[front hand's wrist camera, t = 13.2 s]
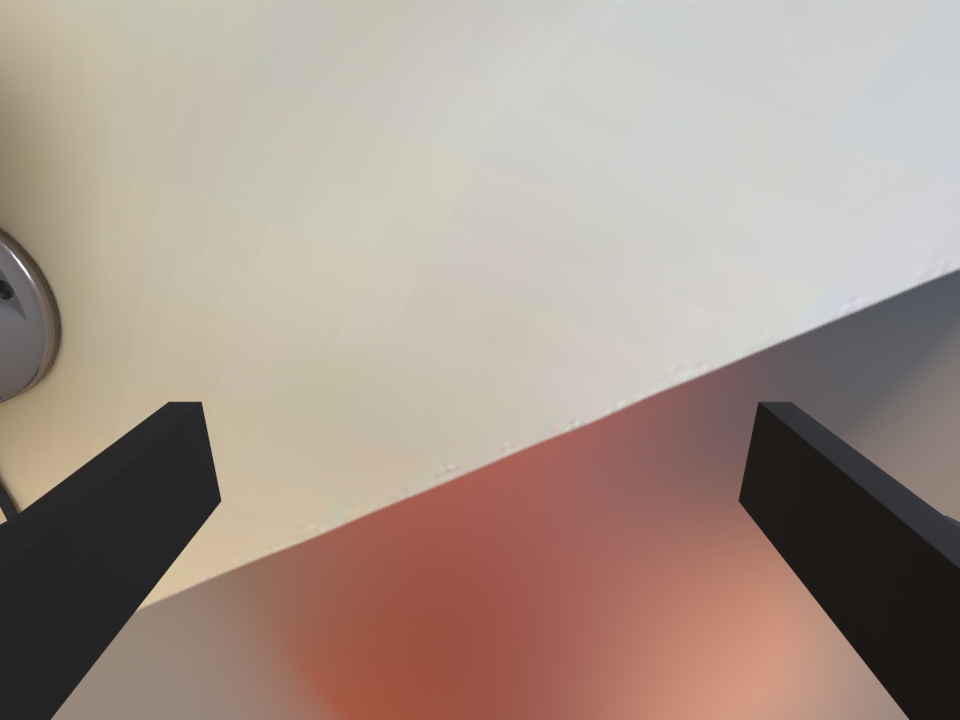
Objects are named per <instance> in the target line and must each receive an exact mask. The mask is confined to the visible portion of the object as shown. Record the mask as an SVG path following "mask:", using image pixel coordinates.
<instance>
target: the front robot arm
mask: <svg viewBox="0 0 960 720" xmlns="http://www.w3.org/2000/svg"><path fill="white" fill-rule="evenodd" d="M59 337H60V328H59V318H58V313H57V308H56V305H55V302H54V299H53V296H52V294H51V291H50V289H49V287H48V285H47V283H46V281H45V279H44V277H43V276H42V274H41V272H40V271H39V269H38V268H37V266H36V265H35V264H34V262H33V261H32V260H31V258H30V257H29V256H28V255H27V254H26V252H25V251H24V250H23V249H22V248H21V247H20V246H19V245H18V244H17V243H16V242H15V241H14V240H13V239H12V238H11V237H9V236H8V235H7V234H6V233H5V232H3V231H2V230H1V229H0V403H2V402H4V401H6V400H9V399H11V398H13V397H15V396H17V395H19V394H21V393H23V392H25V391H27V390H29V389H30V388H32V387H33V386H34V385H36V384H37V383H38V382H39V381H40V380H41V379H42V378H43V377H44V376H45V375H46V373H47V372H48V371H49V369H50V368H51V366H52V364H53V362H54V359H55V357H56V354H57V350H58V346H59ZM220 502H221V497H220V492H219V487H218V482H217V477H216V472H215V467H214V462H213V457H212V452H211V447H210V442H209V437H208V432H207V427H206V422H205V417H204V412H203V407H202V402H168V403H167V404H165V405H164V406H163V407H161V408H160V409H159V410H157V411H156V412H155V413H153V414H152V415H151V416H149V417H148V418H147V419H145V420H144V421H143V422H141V423H140V424H139V425H137V426H136V427H135V428H133V429H132V430H131V431H129V432H128V433H127V434H125V435H124V436H123V437H121V438H120V439H119V440H117V441H116V442H115V443H113V444H112V445H111V446H109V447H108V448H106V449H105V450H104V451H102V452H101V453H100V454H98V455H97V456H96V457H94V458H93V459H92V460H90V461H89V462H88V463H86V464H85V465H84V466H82V467H81V468H80V469H78V470H77V471H76V472H74V473H73V474H72V475H70V476H69V477H68V478H66V479H65V480H64V481H62V482H61V483H60V484H58V485H57V486H56V487H54V488H53V489H52V490H50V491H49V492H48V493H46V494H45V495H43V496H42V497H41V498H39V499H38V500H37V501H35V502H34V503H33V504H31V505H30V506H29V507H27V508H26V509H25V510H23V511H22V512H21V513H19V514H18V513H17V511H16V509H15V507H14V505H13V503H12V501H11V500H10V498H9V496H8V495H7V493H6V491H5V490H4V488H3V486H2V485H1V483H0V507H1V509H2V511H3V513H4V515H5V517H6V519H7V521H6V522H4V523H2V524H0V720H51V718H52V717H53V716H54V715H55V713H56V712H57V711H58V709H59V708H60V707H61V706H62V704H63V703H64V702H65V701H66V699H67V698H68V697H69V695H70V694H71V693H72V692H73V690H74V689H75V688H76V686H77V685H78V684H79V683H80V681H81V680H82V679H83V677H84V676H85V675H86V674H87V672H88V671H89V670H90V669H91V667H92V666H93V665H94V663H95V662H96V661H97V660H98V658H99V657H100V656H101V654H102V653H103V652H104V651H105V649H106V648H107V647H108V645H109V644H110V643H111V642H112V640H113V639H114V638H115V637H116V635H117V634H118V633H119V631H120V630H121V629H122V628H123V626H124V625H125V624H126V622H127V621H128V620H129V619H130V617H131V616H132V615H133V613H134V612H135V611H136V610H137V608H138V607H139V606H140V604H141V603H142V602H143V601H144V599H145V598H146V597H147V596H148V594H149V593H150V592H151V590H152V589H153V588H154V587H155V585H156V584H157V583H158V581H159V580H160V579H161V578H162V576H163V575H164V574H165V572H166V571H167V570H168V569H169V567H170V566H171V565H172V564H173V562H174V561H175V560H176V558H177V557H178V556H179V555H180V553H181V552H182V551H183V549H184V548H185V547H186V546H187V544H188V543H189V542H190V540H191V539H192V538H193V537H194V535H195V534H196V533H197V532H198V530H199V529H200V528H201V526H202V525H203V524H204V523H205V521H206V520H207V519H208V517H209V516H210V515H211V514H212V512H213V511H214V510H215V508H216V507H217V506H218V505H219V503H220ZM739 502H740V503H741V505H742V506H743V507H744V508H745V510H746V511H747V512H748V514H749V515H750V516H751V517H752V519H753V520H754V521H755V523H756V524H757V525H758V526H759V528H760V529H761V530H762V532H763V533H764V534H765V535H766V537H767V538H768V539H769V540H770V542H771V543H772V544H773V545H774V547H775V548H776V549H777V551H778V552H779V553H780V555H781V556H782V557H783V558H784V560H785V561H786V562H787V564H788V565H789V566H790V567H791V569H792V570H793V571H794V572H795V574H796V575H797V576H798V578H799V579H800V580H801V581H802V583H803V584H804V585H805V586H806V588H807V589H808V590H809V592H810V593H811V594H812V596H813V597H814V598H815V599H816V601H817V602H818V603H819V604H820V606H821V607H822V608H823V610H824V611H825V612H826V613H827V615H828V616H829V617H830V619H831V620H832V621H833V622H834V624H835V625H836V626H837V627H838V629H839V630H840V631H841V633H842V634H843V635H844V637H845V638H846V639H847V640H848V642H849V643H850V644H851V645H852V647H853V648H854V649H855V651H856V652H857V653H858V654H859V656H860V657H861V658H862V660H863V661H864V662H865V663H866V665H867V666H868V667H869V669H870V670H871V671H872V672H873V674H874V675H875V676H876V677H877V679H878V680H879V681H880V683H881V684H882V685H883V686H884V688H885V689H886V690H887V692H888V693H889V694H890V695H891V697H892V698H893V699H894V701H895V702H896V703H897V704H898V706H899V707H900V708H901V709H902V711H903V712H904V713H905V715H906V716H907V717H908V718H909V720H960V522H958V521H956V520H954V519H952V518H950V517H948V516H943V515H942V514H941V513H939V512H938V511H937V510H935V509H934V508H933V507H931V506H930V505H929V504H927V503H926V502H924V501H923V500H922V499H921V498H919V497H918V496H917V495H915V494H914V493H912V492H911V491H910V490H908V489H907V488H906V487H904V486H903V485H902V484H900V483H899V482H898V481H896V480H895V479H894V478H892V477H891V476H890V475H888V474H887V473H886V472H884V471H883V470H882V469H880V468H879V467H878V466H876V465H875V464H874V463H872V462H871V461H870V460H868V459H867V458H865V457H864V456H863V455H862V454H860V453H859V452H858V451H856V450H855V449H853V448H852V447H851V446H849V445H848V444H847V443H845V442H844V441H843V440H841V439H840V438H839V437H837V436H836V435H835V434H833V433H832V432H831V431H829V430H828V429H827V428H825V427H824V426H823V425H821V424H820V423H819V422H817V421H816V420H815V419H813V418H812V417H811V416H809V415H808V414H807V413H805V412H804V411H803V410H801V409H800V408H799V407H797V406H796V405H795V404H793V403H792V402H758V407H757V412H756V417H755V422H754V427H753V432H752V437H751V442H750V447H749V452H748V457H747V462H746V467H745V472H744V477H743V482H742V487H741V492H740V497H739Z"/></svg>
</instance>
